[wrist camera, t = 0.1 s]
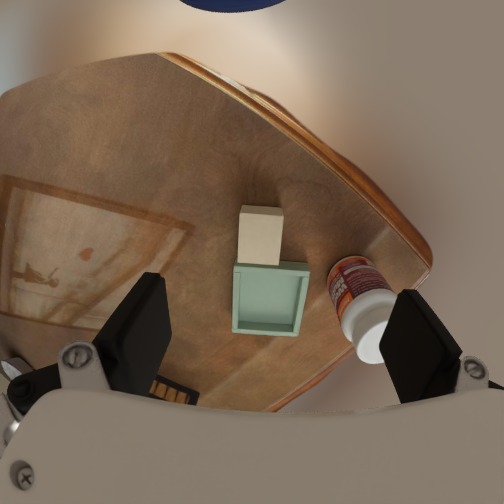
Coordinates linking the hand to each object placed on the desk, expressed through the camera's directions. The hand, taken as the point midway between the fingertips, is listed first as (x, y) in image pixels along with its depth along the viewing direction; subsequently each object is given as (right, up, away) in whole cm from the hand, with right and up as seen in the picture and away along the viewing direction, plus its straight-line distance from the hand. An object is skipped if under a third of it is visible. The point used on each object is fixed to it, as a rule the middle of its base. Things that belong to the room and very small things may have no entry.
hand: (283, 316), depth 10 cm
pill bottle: (+10, 0, +20) cm, 23 cm away
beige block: (0, +5, +18) cm, 19 cm away
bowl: (-60, -28, +35) cm, 75 cm away
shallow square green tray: (+1, -2, +21) cm, 21 cm away
